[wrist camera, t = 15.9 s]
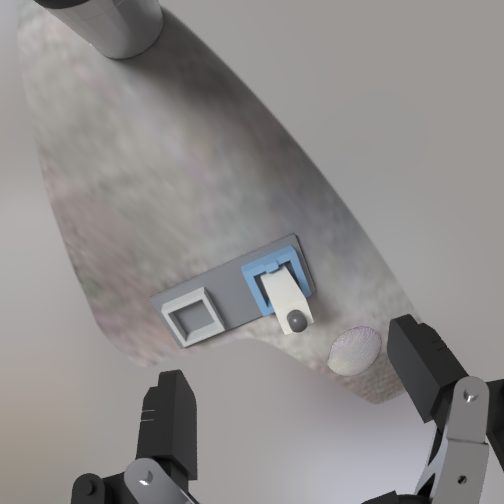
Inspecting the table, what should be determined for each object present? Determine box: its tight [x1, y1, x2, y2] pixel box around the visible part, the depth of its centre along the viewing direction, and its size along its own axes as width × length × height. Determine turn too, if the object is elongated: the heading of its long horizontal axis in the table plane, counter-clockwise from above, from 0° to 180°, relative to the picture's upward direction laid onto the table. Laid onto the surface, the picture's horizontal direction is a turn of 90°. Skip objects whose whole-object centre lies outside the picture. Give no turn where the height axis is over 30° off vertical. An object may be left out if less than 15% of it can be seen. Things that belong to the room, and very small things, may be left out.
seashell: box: [327, 327, 381, 376], centre depth 48 cm, size 10×6×10 cm
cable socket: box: [149, 233, 316, 349], centre depth 41 cm, size 21×9×4 cm, turn 113°
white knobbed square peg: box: [259, 263, 314, 335], centre depth 36 cm, size 3×3×12 cm
